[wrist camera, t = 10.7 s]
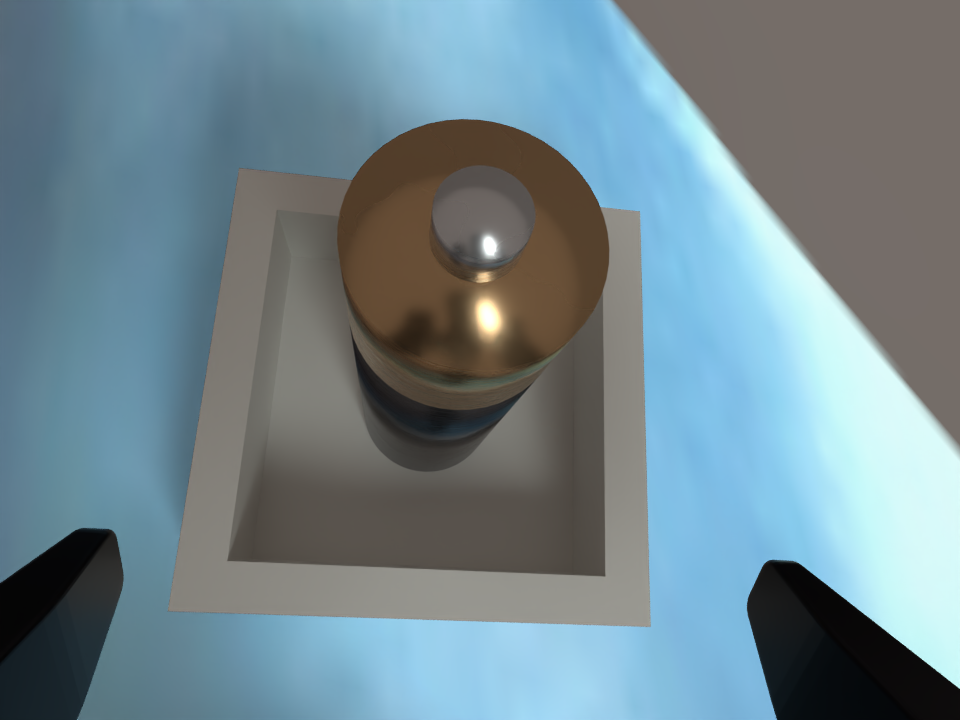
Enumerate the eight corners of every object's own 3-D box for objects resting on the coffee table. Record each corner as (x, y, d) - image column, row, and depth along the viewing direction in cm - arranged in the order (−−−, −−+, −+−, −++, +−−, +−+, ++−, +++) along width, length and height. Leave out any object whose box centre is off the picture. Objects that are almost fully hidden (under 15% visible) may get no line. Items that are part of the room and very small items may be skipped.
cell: (435, 498, 21) (509, 418, 8) (337, 416, 21) (266, 219, 9) (514, 401, 22) (682, 204, 9) (420, 325, 22) (462, 36, 10)
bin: (602, 612, 21) (650, 627, 17) (209, 599, 20) (167, 611, 16) (600, 263, 25) (640, 211, 21) (263, 230, 23) (238, 167, 19)
